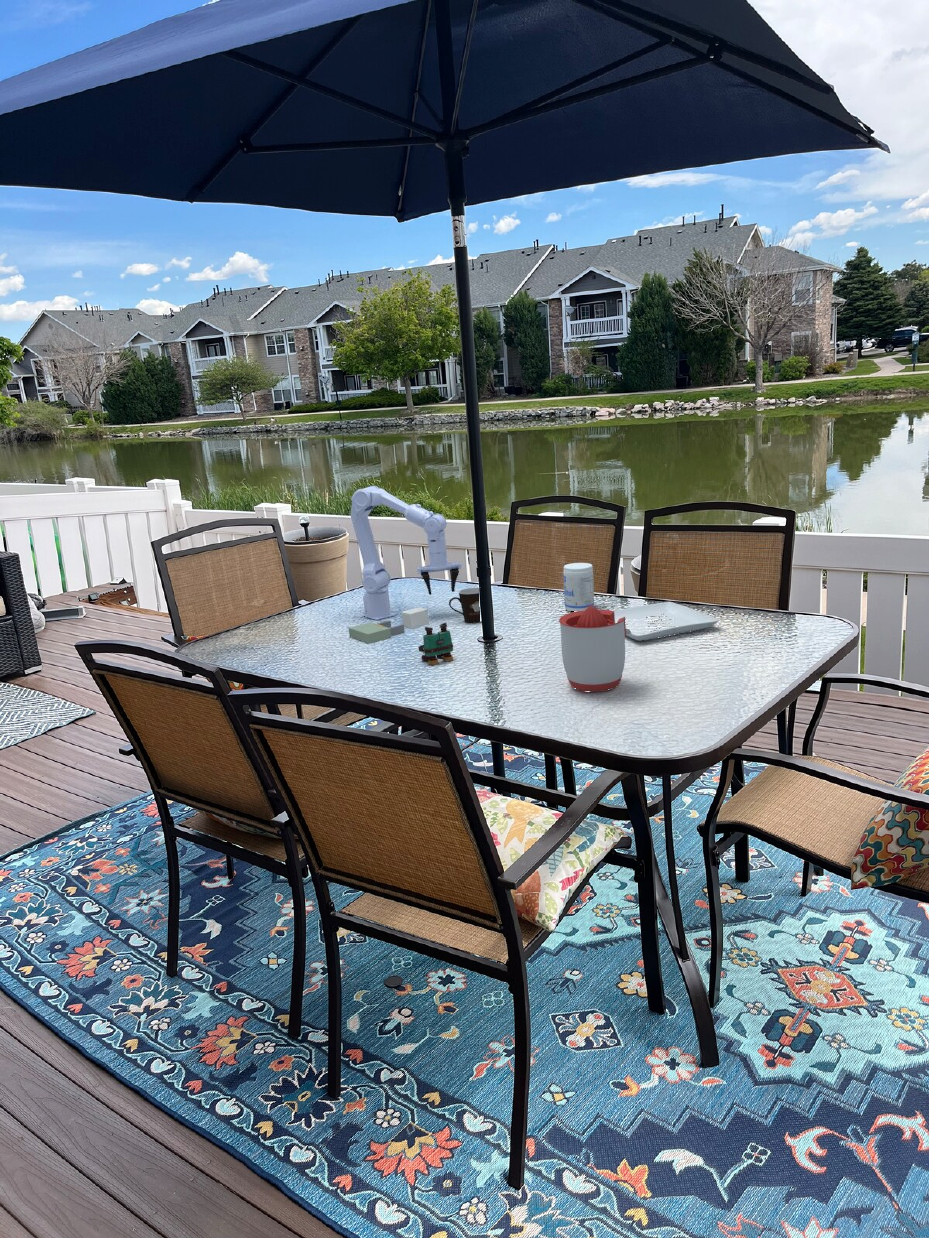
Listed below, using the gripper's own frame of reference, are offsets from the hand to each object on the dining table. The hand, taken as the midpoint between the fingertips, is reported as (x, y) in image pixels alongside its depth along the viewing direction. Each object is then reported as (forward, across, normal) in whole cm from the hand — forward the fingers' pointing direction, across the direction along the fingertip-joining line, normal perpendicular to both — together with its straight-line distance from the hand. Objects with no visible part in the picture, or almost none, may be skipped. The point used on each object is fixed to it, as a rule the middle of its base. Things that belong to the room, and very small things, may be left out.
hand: (441, 592), depth 275 cm
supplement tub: (+9, -44, +11) cm, 46 cm away
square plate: (+9, -57, +41) cm, 71 cm away
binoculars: (+9, +8, +45) cm, 47 cm away
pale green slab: (+9, +23, +12) cm, 27 cm away
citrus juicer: (+9, -27, +82) cm, 87 cm away
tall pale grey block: (+9, +10, +5) cm, 14 cm away
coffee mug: (+9, -7, +8) cm, 14 cm away
